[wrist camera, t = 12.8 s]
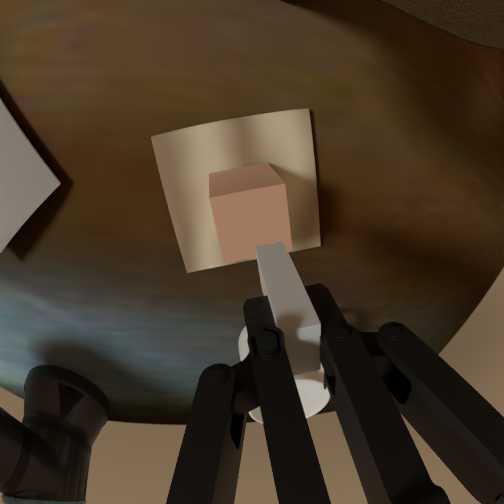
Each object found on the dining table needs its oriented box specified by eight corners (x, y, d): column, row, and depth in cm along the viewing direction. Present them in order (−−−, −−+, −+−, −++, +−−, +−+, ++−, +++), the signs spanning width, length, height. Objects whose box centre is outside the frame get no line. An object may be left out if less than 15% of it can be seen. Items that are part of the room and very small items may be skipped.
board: (187, 269, 32) (187, 272, 31) (152, 135, 25) (150, 136, 24) (318, 243, 32) (320, 245, 32) (306, 108, 26) (308, 108, 25)
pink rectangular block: (219, 226, 29) (223, 263, 23) (208, 173, 26) (209, 197, 20) (274, 215, 29) (292, 249, 23) (267, 162, 27) (285, 183, 21)
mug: (338, 319, 38) (370, 382, 29) (264, 367, 41) (279, 432, 31) (304, 280, 35) (336, 347, 25) (223, 336, 37) (230, 408, 28)
